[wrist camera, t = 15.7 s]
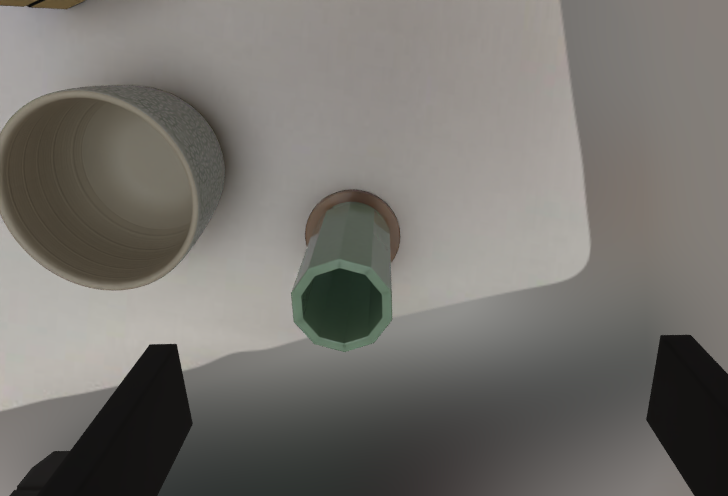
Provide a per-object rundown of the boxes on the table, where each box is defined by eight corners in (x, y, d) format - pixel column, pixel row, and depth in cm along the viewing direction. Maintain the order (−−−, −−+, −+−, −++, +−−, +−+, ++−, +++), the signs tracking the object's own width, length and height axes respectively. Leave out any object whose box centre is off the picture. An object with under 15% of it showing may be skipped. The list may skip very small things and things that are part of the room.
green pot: (388, 198, 44) (390, 257, 33) (390, 272, 46) (393, 351, 35) (312, 200, 44) (287, 260, 33) (317, 274, 46) (296, 353, 35)
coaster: (399, 188, 44) (399, 189, 43) (400, 276, 47) (400, 279, 46) (302, 190, 44) (301, 192, 44) (309, 279, 47) (308, 281, 47)
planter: (210, 55, 41) (152, 65, 31) (261, 214, 45) (226, 268, 35) (55, 97, 42) (-49, 119, 32) (119, 247, 46) (46, 308, 36)
